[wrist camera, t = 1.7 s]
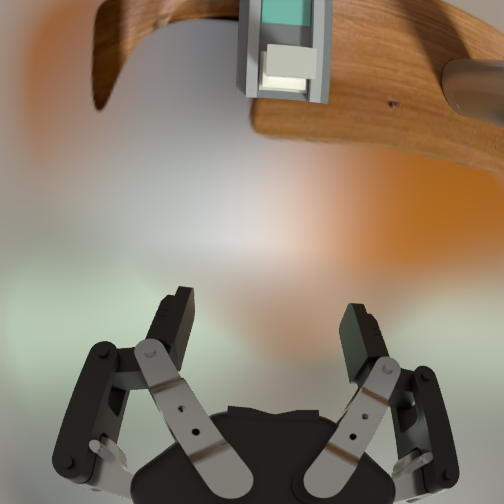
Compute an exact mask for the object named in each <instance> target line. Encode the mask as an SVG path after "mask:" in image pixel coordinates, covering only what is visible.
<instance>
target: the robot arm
mask: <svg viewBox="0 0 504 504" xmlns="http://www.w3.org/2000/svg"><path fill="white" fill-rule="evenodd" d="M442 88H443V92H444V95H445V97H446V99H447V101H448V103H449V104H450V106H451V107H452V108H453V109H454V110H455V111H456V112H457V113H459V114H461V115H463V116H467V117H470V118H474V119H477V120H480V121H483V122H487V123H490V124H493V125H496V126H499V127H502V128H504V60H491V59H454V60H451V61H449V62H448V63H447V64H446V66H445V67H444V69H443V73H442ZM194 316H195V303H194V289H193V288H190V287H182V286H179V287H178V289H177V291H176V294H175V296H174V295H167V296H166V297H165V298H164V299H163V300H162V301H161V303H160V305H159V307H158V310H157V312H156V314H155V317H154V319H153V321H152V324H151V326H150V329H149V331H148V334H147V336H146V338H145V340H142V341H141V342H139V343H138V344H137V345H136V347H132V348H121V349H117V348H116V346H115V345H114V344H112V343H111V342H108V341H102V342H99V343H97V344H95V345H94V346H93V347H92V348H91V350H90V352H89V355H88V357H87V359H86V361H85V364H84V366H83V368H82V371H81V373H80V376H79V378H78V381H77V383H76V386H75V389H74V391H73V394H72V397H71V399H70V402H69V405H68V408H67V410H66V413H65V416H64V419H63V422H62V426H61V428H60V432H59V435H58V438H57V441H56V445H55V448H54V452H53V456H52V464H53V467H54V469H55V470H56V472H57V473H58V474H59V475H61V476H63V477H64V478H66V479H68V480H70V481H71V482H73V483H75V484H77V485H80V486H82V487H84V488H87V489H91V490H93V491H105V492H108V493H112V494H115V495H118V496H121V497H125V498H129V499H132V500H133V503H134V504H394V503H399V502H403V501H406V502H409V503H412V502H416V501H419V500H422V499H424V498H427V497H429V496H432V495H435V494H437V493H440V492H442V491H444V490H447V489H449V488H451V487H453V486H454V485H455V484H456V483H457V481H458V479H459V466H458V460H457V455H456V450H455V445H454V440H453V436H452V432H451V427H450V423H449V419H448V415H447V412H446V408H445V404H444V401H443V398H442V394H441V391H440V388H439V384H438V381H437V378H436V375H435V373H434V372H433V370H432V369H430V368H429V367H426V366H419V367H417V368H416V370H415V371H411V370H406V369H402V368H400V366H399V364H398V363H397V361H395V360H394V359H393V358H391V357H389V354H388V351H387V348H386V345H385V342H384V339H383V336H382V334H381V331H380V330H379V329H380V328H379V326H378V323H377V320H376V319H375V318H374V317H373V316H372V314H367V312H366V309H365V306H364V304H356V303H350V304H348V306H347V309H346V311H345V313H344V316H343V318H342V321H341V323H340V328H339V334H340V339H341V344H342V348H343V353H344V357H345V362H346V367H347V372H348V377H349V382H350V384H357V385H358V389H357V390H356V391H355V393H354V395H353V396H352V398H351V399H350V401H349V403H348V404H347V406H346V407H345V409H344V410H343V412H342V414H341V415H340V416H339V418H338V419H337V420H336V421H335V422H333V421H331V420H329V419H327V418H325V417H322V416H319V410H296V411H291V412H286V413H281V414H269V413H266V412H263V411H259V410H256V409H252V408H246V407H235V406H228V410H227V411H225V412H220V413H216V414H213V415H211V416H208V415H207V413H206V412H205V411H204V409H203V407H202V406H201V404H200V403H199V401H198V400H197V398H196V396H195V395H194V393H193V391H192V390H191V388H190V386H189V385H188V383H187V382H186V380H185V379H184V378H181V376H180V375H179V373H178V371H180V370H181V366H182V362H183V358H184V354H185V351H186V347H187V343H188V340H189V336H190V332H191V329H192V325H193V322H194ZM135 389H136V390H137V389H148V390H149V392H150V394H151V396H152V398H153V400H154V402H155V404H156V406H157V408H158V410H159V412H160V414H161V416H162V418H163V420H164V422H165V424H166V426H167V428H168V429H169V431H170V433H171V435H172V436H173V438H174V440H175V443H174V444H172V445H171V446H170V447H168V448H167V449H166V450H165V451H163V452H162V453H161V454H159V455H158V456H157V457H155V458H154V459H153V460H151V461H150V462H149V463H147V464H146V465H144V466H143V467H142V468H140V469H139V470H138V471H137V472H136V473H135V475H132V474H131V473H130V472H129V471H128V469H127V465H126V456H125V453H124V452H123V451H122V450H121V449H120V448H119V447H118V446H117V440H118V436H119V432H120V428H121V423H122V419H123V415H124V411H125V407H126V404H127V400H128V396H129V392H130V390H135ZM388 406H390V408H391V413H392V419H393V425H394V432H395V437H396V445H397V453H398V461H397V462H396V463H395V465H394V467H393V472H392V478H391V477H390V475H389V474H387V472H386V471H384V470H383V469H382V468H381V467H380V466H379V465H378V464H377V463H376V462H375V461H374V460H373V459H372V458H371V457H370V456H369V455H368V454H367V453H366V452H365V449H366V448H367V446H368V444H369V442H370V441H371V439H372V437H373V435H374V433H375V431H376V430H377V428H378V426H379V424H380V422H381V420H382V418H383V416H384V414H385V412H386V410H387V408H388Z"/></svg>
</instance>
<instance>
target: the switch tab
mask: <svg viewBox="0 0 504 504" xmlns="http://www.w3.org/2000/svg"><path fill="white" fill-rule="evenodd" d="M316 64H317V49H315V48H307V47H299V46H288V45H275V44H267V52H264V61H263V84H262V87H266V88H282V89H294V90H303V91H304V90H305V87H306V79H311V80H315V79H316Z"/></svg>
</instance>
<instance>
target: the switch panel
mask: <svg viewBox="0 0 504 504" xmlns="http://www.w3.org/2000/svg"><path fill="white" fill-rule="evenodd" d="M267 44H275V45H288V46H299V47H307V48H315V49H317V64H316V79H315V80H311V79H306V87H305V90H304V91H303V90H294V89H282V88H266V87H262V84H263V61H264V52H267ZM331 46H332V0H240V8H239V29H238V53H237V79H236V80H237V81H236V97H259V98H277V99H290V100H300V101H309V102H317V103H325V104H328V97H329V83H330V67H331Z"/></svg>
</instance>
